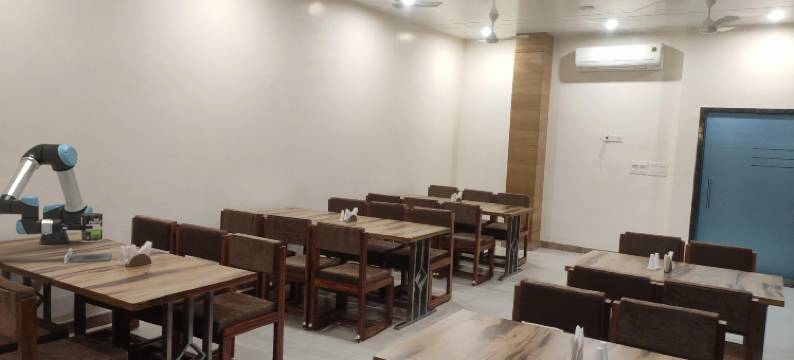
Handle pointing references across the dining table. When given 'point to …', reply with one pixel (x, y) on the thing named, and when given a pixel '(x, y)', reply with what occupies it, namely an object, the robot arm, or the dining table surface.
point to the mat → (91, 257)
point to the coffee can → (91, 234)
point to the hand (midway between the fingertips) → (100, 225)
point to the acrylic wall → (68, 256)
